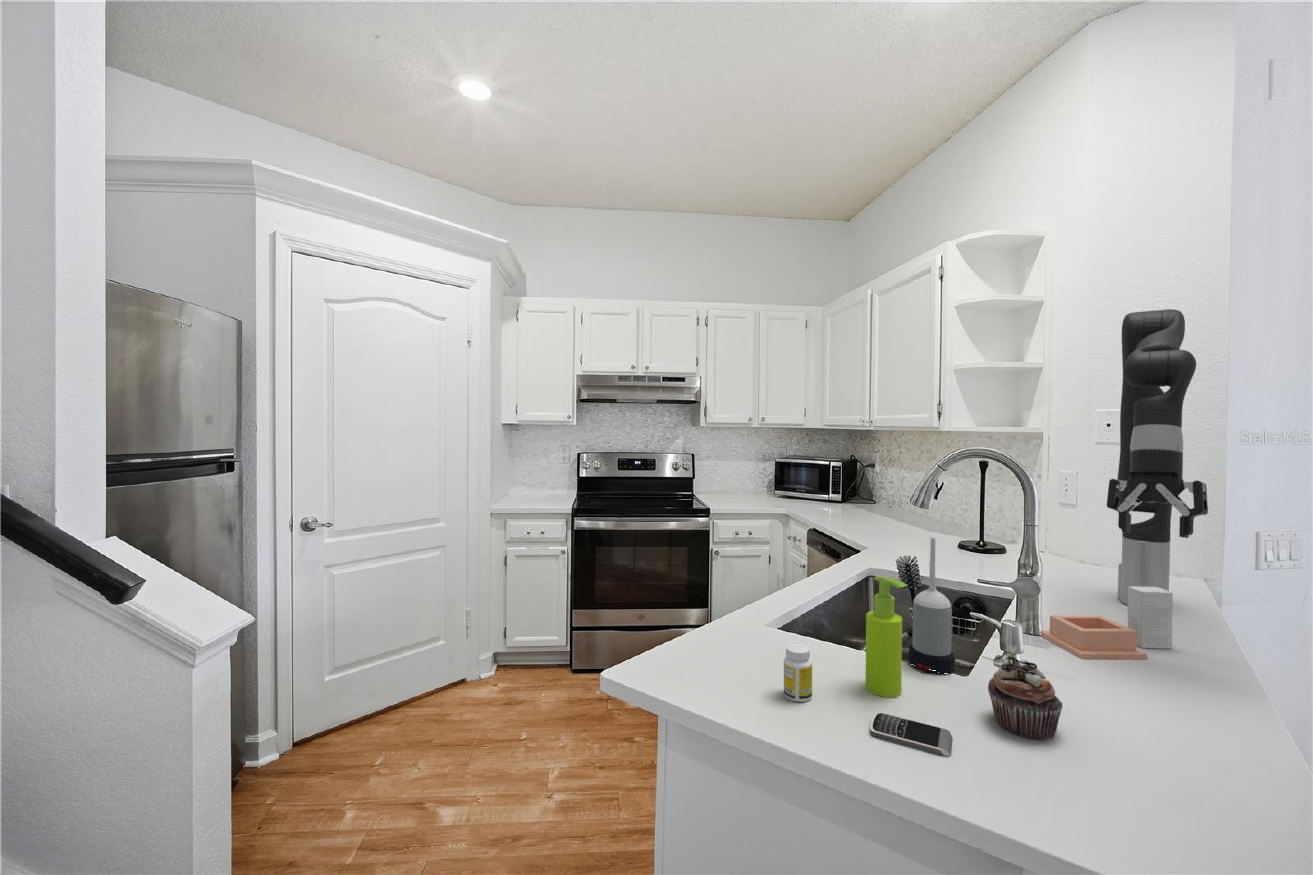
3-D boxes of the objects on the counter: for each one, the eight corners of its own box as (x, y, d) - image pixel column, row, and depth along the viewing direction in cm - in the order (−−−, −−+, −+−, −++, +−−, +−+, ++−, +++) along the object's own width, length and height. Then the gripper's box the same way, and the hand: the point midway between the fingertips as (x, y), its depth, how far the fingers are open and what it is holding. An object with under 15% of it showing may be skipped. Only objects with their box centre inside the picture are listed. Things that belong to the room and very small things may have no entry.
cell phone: (874, 719, 88) (875, 710, 88) (952, 739, 83) (953, 730, 83) (868, 738, 83) (868, 729, 83) (951, 761, 77) (951, 751, 77)
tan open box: (1040, 635, 122) (1040, 613, 121) (1099, 635, 121) (1099, 613, 121) (1081, 658, 110) (1082, 634, 109) (1147, 659, 109) (1147, 634, 109)
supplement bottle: (812, 691, 96) (813, 644, 96) (811, 705, 92) (811, 655, 92) (784, 687, 98) (785, 641, 98) (782, 700, 93) (782, 651, 93)
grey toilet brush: (915, 673, 103) (917, 541, 103) (903, 655, 111) (904, 532, 111) (961, 676, 102) (964, 543, 101) (946, 657, 110) (948, 534, 109)
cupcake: (1065, 751, 79) (1066, 682, 79) (986, 731, 84) (988, 666, 84) (1059, 720, 87) (1060, 658, 87) (987, 703, 92) (989, 645, 92)
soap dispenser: (890, 703, 92) (892, 585, 92) (858, 685, 98) (859, 575, 98) (913, 695, 95) (915, 581, 94) (881, 678, 101) (882, 571, 101)
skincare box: (1155, 641, 118) (1157, 586, 118) (1172, 649, 114) (1174, 592, 114) (1125, 640, 119) (1127, 585, 118) (1140, 648, 115) (1142, 591, 114)
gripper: (1213, 453, 102) (1212, 541, 100) (1119, 454, 114) (1116, 532, 112) (1199, 446, 98) (1197, 537, 96) (1103, 448, 110) (1099, 528, 108)
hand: (1153, 534), depth 104 cm, fingers open, 8 cm apart
